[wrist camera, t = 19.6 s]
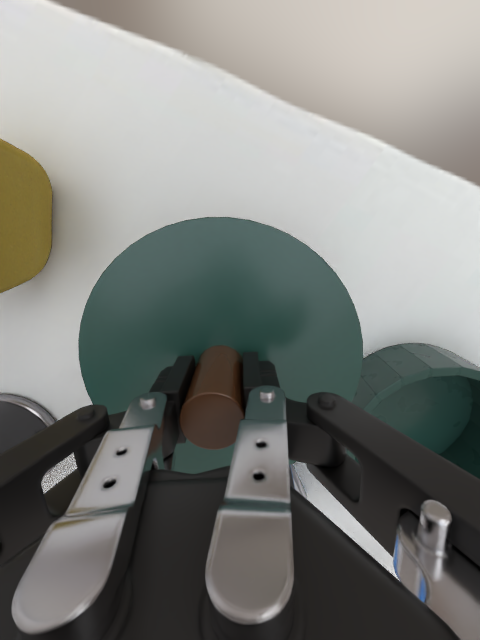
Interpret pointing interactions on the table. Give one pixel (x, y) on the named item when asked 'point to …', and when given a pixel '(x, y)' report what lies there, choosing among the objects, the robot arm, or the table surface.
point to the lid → (217, 326)
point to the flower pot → (23, 217)
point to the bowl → (425, 399)
